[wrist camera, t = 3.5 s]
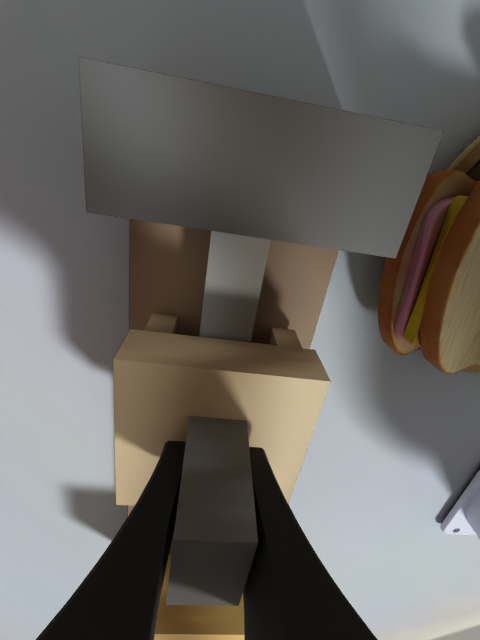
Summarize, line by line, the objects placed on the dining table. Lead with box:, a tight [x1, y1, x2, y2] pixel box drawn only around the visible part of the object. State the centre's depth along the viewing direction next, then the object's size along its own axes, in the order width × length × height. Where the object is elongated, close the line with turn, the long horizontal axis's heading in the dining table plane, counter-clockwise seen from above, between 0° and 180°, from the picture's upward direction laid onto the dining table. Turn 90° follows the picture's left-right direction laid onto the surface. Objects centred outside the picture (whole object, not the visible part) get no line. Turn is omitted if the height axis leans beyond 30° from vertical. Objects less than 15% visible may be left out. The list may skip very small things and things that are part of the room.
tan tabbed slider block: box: [113, 313, 331, 606], centre depth 11 cm, size 7×7×8 cm
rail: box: [79, 57, 444, 640], centre depth 15 cm, size 8×28×6 cm, turn 171°
